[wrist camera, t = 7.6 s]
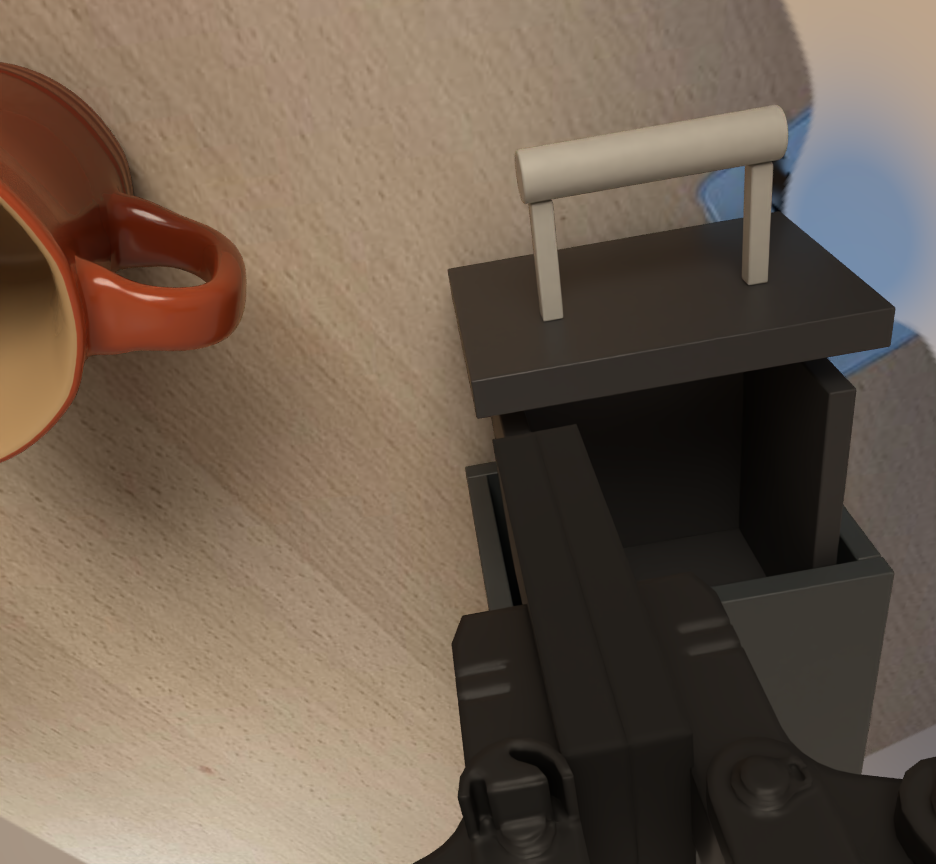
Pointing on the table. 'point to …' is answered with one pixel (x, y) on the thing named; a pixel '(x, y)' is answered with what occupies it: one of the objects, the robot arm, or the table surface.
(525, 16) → the table surface
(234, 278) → the mug
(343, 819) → the table surface
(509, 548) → the cabinet
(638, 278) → the drawer
